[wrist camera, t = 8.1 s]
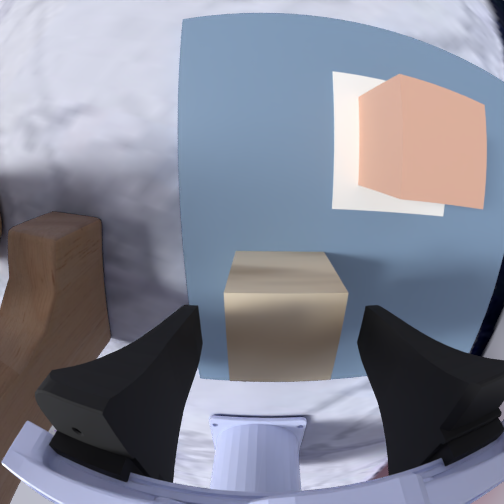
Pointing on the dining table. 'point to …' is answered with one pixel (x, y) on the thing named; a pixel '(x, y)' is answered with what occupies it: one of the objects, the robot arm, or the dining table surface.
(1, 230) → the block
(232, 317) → the maple block
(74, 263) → the wooden block
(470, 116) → the terracotta block
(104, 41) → the dining table surface
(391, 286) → the board
